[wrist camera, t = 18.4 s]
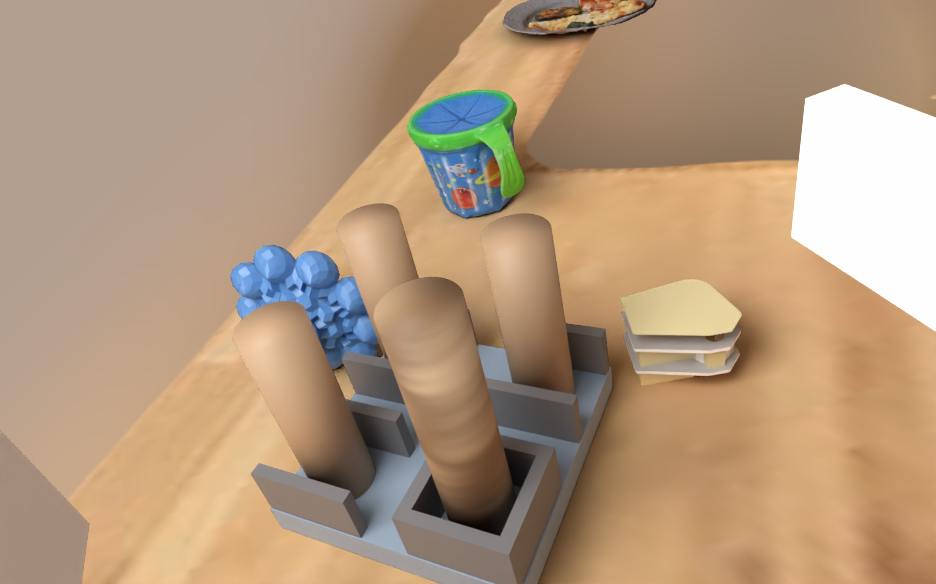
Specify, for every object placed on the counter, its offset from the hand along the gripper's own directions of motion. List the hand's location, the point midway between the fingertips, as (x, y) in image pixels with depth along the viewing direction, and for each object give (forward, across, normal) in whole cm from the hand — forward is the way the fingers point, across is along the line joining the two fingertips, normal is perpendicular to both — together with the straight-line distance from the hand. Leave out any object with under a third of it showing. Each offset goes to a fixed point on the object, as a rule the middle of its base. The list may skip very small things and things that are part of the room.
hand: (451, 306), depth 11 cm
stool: (+22, +1, -29) cm, 36 cm away
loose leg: (+15, +1, -27) cm, 31 cm away
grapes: (+34, -6, -29) cm, 46 cm away
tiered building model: (+21, +18, -30) cm, 41 cm away
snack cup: (+52, +14, -30) cm, 62 cm away
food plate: (+98, +49, -30) cm, 114 cm away
